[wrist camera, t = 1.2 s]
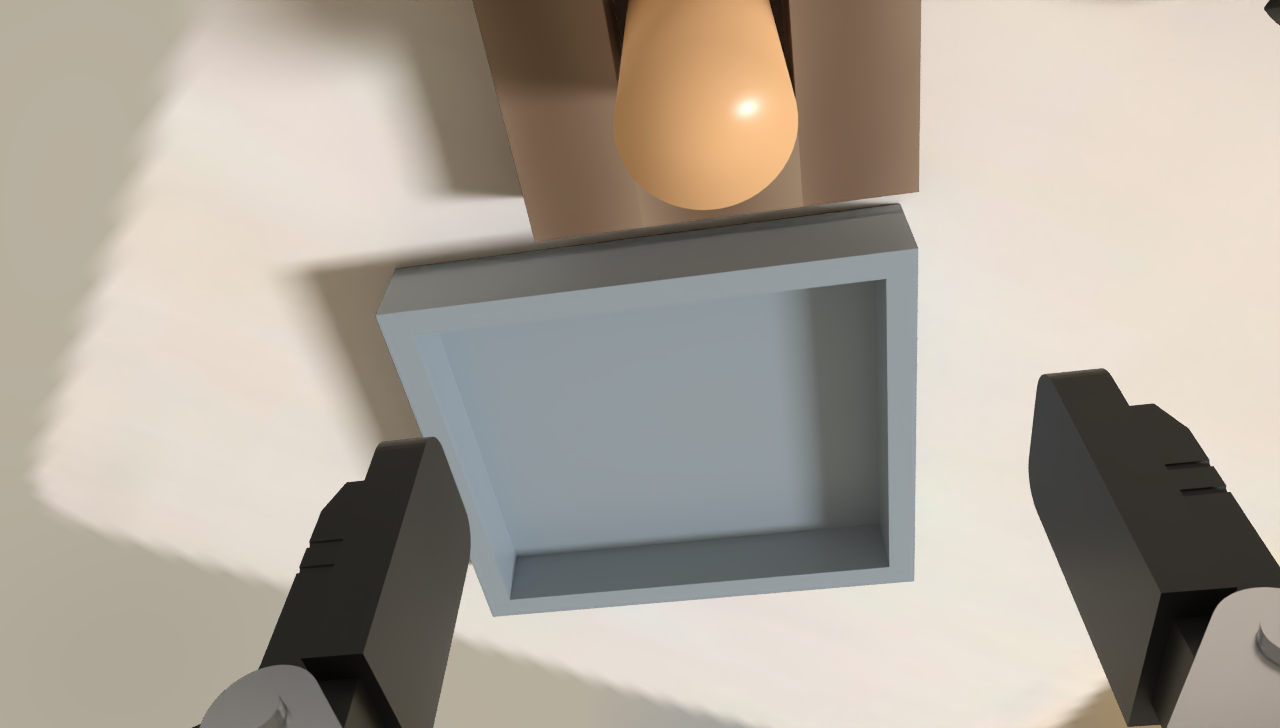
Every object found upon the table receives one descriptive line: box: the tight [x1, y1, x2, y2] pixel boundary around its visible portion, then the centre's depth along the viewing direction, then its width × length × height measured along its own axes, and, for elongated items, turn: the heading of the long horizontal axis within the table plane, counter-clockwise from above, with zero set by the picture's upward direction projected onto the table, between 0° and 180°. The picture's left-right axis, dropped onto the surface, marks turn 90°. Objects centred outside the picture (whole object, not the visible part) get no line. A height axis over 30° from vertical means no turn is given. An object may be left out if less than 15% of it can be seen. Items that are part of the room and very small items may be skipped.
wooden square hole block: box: [473, 0, 921, 242], centre depth 28 cm, size 12×12×3 cm
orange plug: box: [614, 0, 798, 210], centre depth 25 cm, size 4×4×10 cm
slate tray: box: [375, 204, 918, 617], centre depth 38 cm, size 18×16×3 cm
